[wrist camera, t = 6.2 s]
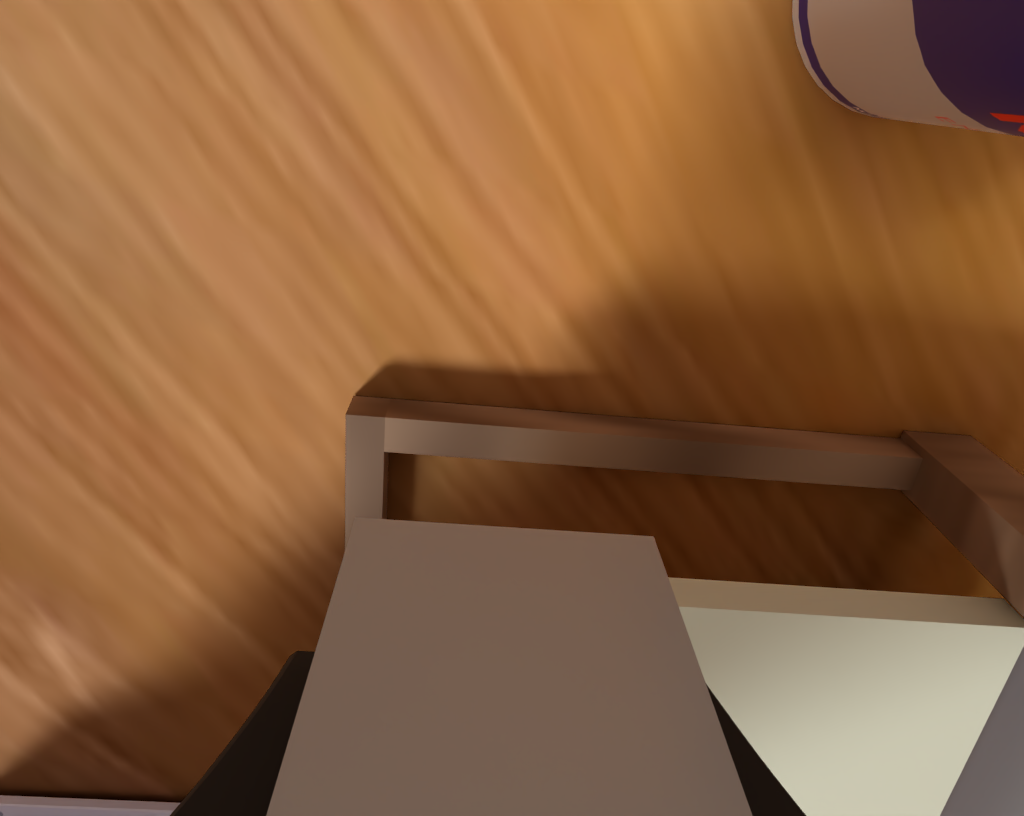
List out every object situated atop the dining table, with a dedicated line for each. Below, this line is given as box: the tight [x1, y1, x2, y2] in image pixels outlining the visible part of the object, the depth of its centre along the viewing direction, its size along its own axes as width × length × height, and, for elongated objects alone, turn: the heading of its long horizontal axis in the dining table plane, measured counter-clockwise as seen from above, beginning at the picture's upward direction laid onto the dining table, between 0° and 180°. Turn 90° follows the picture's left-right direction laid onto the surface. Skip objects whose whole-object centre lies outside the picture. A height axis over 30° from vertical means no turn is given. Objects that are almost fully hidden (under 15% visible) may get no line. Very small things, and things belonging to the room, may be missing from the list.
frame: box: [345, 396, 1024, 617], centre depth 21 cm, size 24×16×7 cm
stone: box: [266, 517, 752, 816], centre depth 10 cm, size 5×5×5 cm
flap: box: [668, 577, 1024, 816], centre depth 19 cm, size 20×12×2 cm, turn 84°
